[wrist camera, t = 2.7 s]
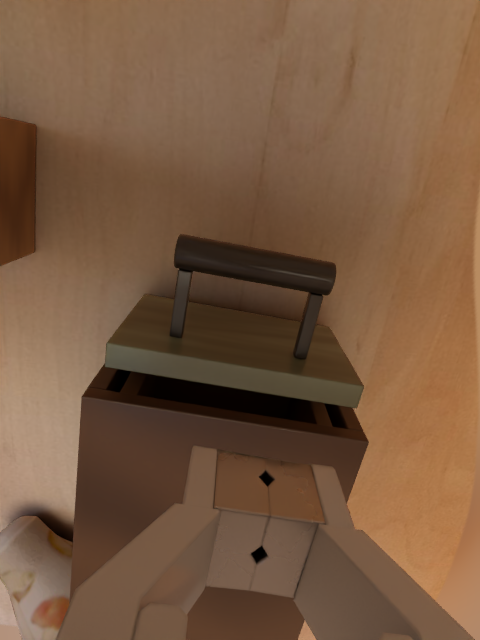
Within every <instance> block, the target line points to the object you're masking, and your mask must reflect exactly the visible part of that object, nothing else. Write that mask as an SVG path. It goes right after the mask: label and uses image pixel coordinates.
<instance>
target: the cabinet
mask: <svg viewBox="0 0 480 640" xmlns="http://www.w3.org/2000/svg"><path fill="white" fill-rule="evenodd" d="M130 373H131V371H127V370H121V369H115V368H109V367H105V364H104V365H103V367H102V368H101V369H100V371H99V372H98V374H97V375H96V377H95V378H94V379H93V381H92V382H91V384H90V385H89V387H88V388H87V390H86V391H85V393H84V394H83V396H82V402H81V418H80V435H79V451H78V468H77V484H76V501H75V517H74V533H73V550H72V566H71V583H70V599H69V604H70V602H71V599H72V597H73V594H74V592H75V589H76V588H78V587H79V586H80V585H81V584H82V583H83V582H85V581H86V580H87V579H88V578H89V577H90V576H91V575H93V574H94V573H95V572H96V571H97V570H98V569H100V568H101V567H102V566H103V565H104V564H105V563H107V562H108V561H109V560H110V559H111V558H112V557H113V556H115V555H116V554H117V553H118V552H119V551H120V550H122V549H123V548H124V547H125V546H126V545H127V544H128V543H130V542H131V541H132V540H133V539H134V538H135V537H137V536H138V535H139V534H140V533H141V532H142V531H143V530H145V529H146V528H147V527H148V526H149V525H150V524H152V523H153V522H154V521H155V520H156V519H157V518H158V517H160V516H161V515H162V514H163V513H164V512H165V511H167V510H168V509H169V508H170V507H171V506H172V505H174V504H175V503H178V504H182V503H183V497H184V492H185V486H186V480H187V475H188V469H189V464H190V458H191V452H192V448H193V446H200V447H207V448H213V449H216V450H218V449H219V450H225V451H231V452H236V453H242V454H247V455H253V456H259V457H264V458H269V459H275V460H282V461H289V462H295V463H302V464H315V465H323V466H331V467H333V468H334V469H335V471H336V474H337V477H338V480H339V483H340V486H341V489H342V492H343V495H344V497H345V500H346V503H347V501H348V498H349V496H350V493H351V490H352V487H353V484H354V482H355V479H356V476H357V473H358V471H359V468H360V465H361V462H362V460H363V457H364V454H365V451H366V448H367V446H368V443H369V442H368V439H367V437H366V435H365V433H364V432H363V429H362V427H361V425H360V423H359V421H358V419H357V417H356V414H355V412H354V410H353V408H351V407H345V406H339V405H333V404H327V403H324V404H325V407H326V410H327V413H328V415H329V418H330V421H331V424H332V426H333V427H331V426H325V425H318V424H312V423H306V422H300V421H294V420H288V419H281V418H275V417H269V416H263V415H257V414H250V413H244V412H238V411H232V410H226V409H219V408H213V407H207V406H201V405H195V404H188V403H182V402H176V401H170V400H164V399H157V398H151V397H145V396H139V395H133V394H126V393H120V392H121V390H122V388H123V386H124V384H125V382H126V381H127V379H128V377H129V375H130ZM293 600H294V598H291V597H285V596H279V595H272V594H266V593H260V592H254V591H250V590H249V591H248V590H238V589H228V588H218V587H208V586H205V589H204V591H203V592H202V594H201V595H200V596H199V598H198V599H197V601H196V602H195V604H194V605H193V606H192V608H191V609H190V611H189V612H188V614H187V616H188V621H187V631H186V640H298V637H299V634H300V631H301V629H302V626H303V623H304V620H305V619H304V617H303V616H302V614H301V612H300V611H299V609H298V607H297V606H296V604H295V602H294V601H293Z"/></svg>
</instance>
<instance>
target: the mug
mask: <svg viewBox="0 0 480 640" xmlns="http://www.w3.org/2000/svg"><path fill="white" fill-rule="evenodd" d="M72 550H73V542H71V541H68V540H66V539H63V538H62V537H60V536H58V535H56V534H55V533H54V532H53V531H52V530H50V529H49V528H48V527H47V526H46V525H45V524H44V523H43V522H42V521H41V520H40V519H39V518H38V517H37V516H22V517H20V518H18V519H16V520H15V521H13V522H12V523H11V524H9V525H8V526H7V527H6V528H5V529H3V530H2V531H1V532H0V579H1V580H2V582H3V583H4V585H5V587H6V588H7V590H8V593H9V596H10V599H11V602H12V606H13V610H14V613H15V617H16V621H17V624H18V628H19V632H20V635H21V638H22V640H55V639H56V637H57V634H58V632H59V629H60V627H61V624H62V622H63V619H64V617H65V614H66V612H67V609H68V607H69V599H70V583H71V566H72Z"/></svg>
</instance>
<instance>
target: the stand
mask: <svg viewBox="0 0 480 640" xmlns="http://www.w3.org/2000/svg"><path fill="white" fill-rule="evenodd" d="M35 168H36V125H35V124H31V123H27V122H22V121H18V120H13V119H9V118H4V117H0V266H2V265H4V264H7V263H9V262H12V261H14V260H17V259H19V258H22V257H24V256H27V255H29V254H32V253H34V250H35Z"/></svg>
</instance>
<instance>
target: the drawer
mask: <svg viewBox="0 0 480 640" xmlns="http://www.w3.org/2000/svg"><path fill="white" fill-rule="evenodd" d="M174 266H175V268H179V270H178V277H177V284H176V291H175V298H174V299H170V298H165V297H159V296H153V295H148V294H144V295H143V297H142V298H141V299H140V300H139V302H138V303H137V304H136V306H135V307H134V308H133V310H132V311H131V312H130V313H129V315H128V316H127V317H126V319H125V320H124V321H123V323H122V324H121V325H120V326H119V328H118V329H117V330H116V332H115V333H114V334H113V336H112V337H111V338H110V339H109V341H108V342H107V344H106V356H105V367H109V368H115V369H121V370H127V371H131V373H130V375H129V377H128V379H127V381H126V382H125V384H124V386H123V388H122V390H121V392H120V393H126V394H133V395H139V396H145V397H151V398H157V399H164V400H170V401H176V402H182V403H188V404H195V405H201V406H207V407H213V408H219V409H226V410H232V411H238V412H244V413H250V414H257V415H263V416H269V417H275V418H281V419H288V420H294V421H300V422H306V423H312V424H318V425H325V426H331V427H333V426H332V424H331V421H330V418H329V415H328V413H327V410H326V407H325V404H324V403H327V404H333V405H339V406H345V407H351V408H357V406H358V404H359V401H360V398H361V395H362V392H363V389H364V385H363V384H362V382H361V380H360V378H359V377H358V375H357V373H356V372H355V370H354V368H353V366H352V365H351V363H350V361H349V359H348V358H347V356H346V354H345V353H344V351H343V349H342V347H341V346H340V344H339V342H338V341H337V339H336V337H335V335H334V334H333V332H332V330H331V328H330V327H327V326H321V325H316V321H317V318H318V314H319V310H320V307H321V303H322V299H323V296H322V295H329V294H330V292H331V291H332V289H333V286H334V283H335V278H336V265H335V264H334V263H332V262H327V261H322V260H316V259H311V258H306V257H301V256H295V255H290V254H285V253H279V252H274V251H269V250H264V249H258V248H253V247H248V246H243V245H237V244H232V243H227V242H221V241H216V240H211V239H206V238H200V237H195V236H190V235H184V234H180V235H179V237H178V240H177V244H176V249H175V256H174ZM193 271H195V272H201V273H206V274H212V275H217V276H223V277H228V278H233V279H239V280H244V281H250V282H255V283H261V284H266V285H272V286H277V287H282V288H288V289H293V290H299V291H304V292H308V296H307V300H306V304H305V308H304V312H303V316H302V320H301V322H299V321H293V320H288V319H282V318H277V317H271V316H265V315H260V314H254V313H249V312H243V311H237V310H232V309H226V308H221V307H215V306H209V305H204V304H198V303H193V302H188V300H189V293H190V287H191V280H192V274H193Z"/></svg>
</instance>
